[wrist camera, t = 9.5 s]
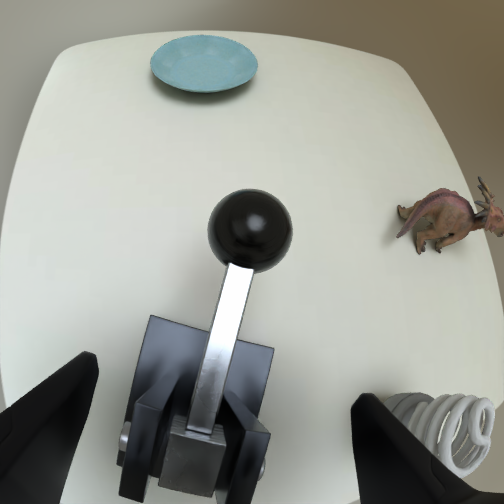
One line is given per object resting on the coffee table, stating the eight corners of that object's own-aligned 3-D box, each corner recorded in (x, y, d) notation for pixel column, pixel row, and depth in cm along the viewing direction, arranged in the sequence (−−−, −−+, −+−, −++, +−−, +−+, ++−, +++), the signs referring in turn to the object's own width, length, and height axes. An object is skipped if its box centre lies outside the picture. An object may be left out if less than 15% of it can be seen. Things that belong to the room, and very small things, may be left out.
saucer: (182, 40, 31) (182, 27, 28) (266, 63, 31) (270, 50, 29) (131, 91, 26) (129, 75, 24) (231, 120, 27) (235, 104, 25)
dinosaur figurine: (455, 209, 30) (506, 175, 21) (466, 254, 28) (524, 227, 20) (371, 197, 28) (427, 145, 19) (383, 254, 26) (451, 214, 17)
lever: (218, 198, 15) (224, 162, 11) (287, 219, 15) (311, 190, 12) (150, 453, 11) (137, 488, 8) (222, 470, 12) (230, 508, 8)
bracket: (152, 315, 20) (111, 284, 10) (271, 348, 21) (342, 346, 11) (119, 459, 16) (69, 534, 6) (234, 487, 17) (268, 575, 7)
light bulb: (405, 431, 21) (506, 453, 10) (355, 456, 19) (453, 501, 8) (399, 378, 22) (509, 379, 11) (347, 399, 21) (457, 422, 10)
